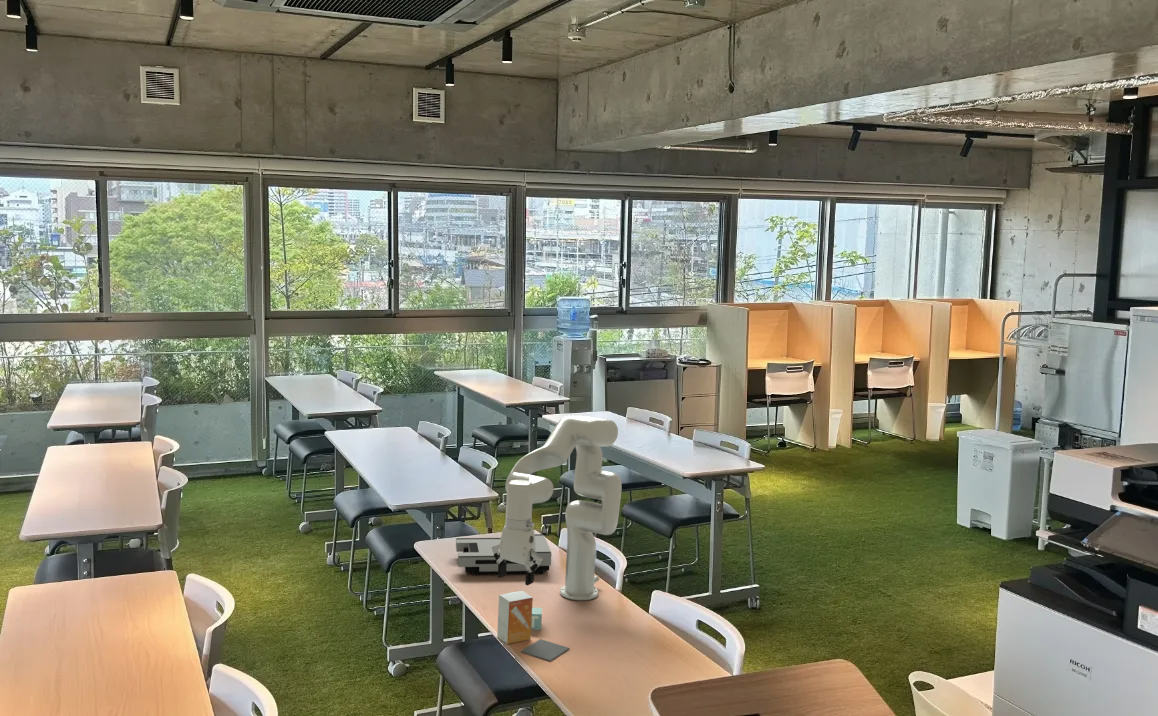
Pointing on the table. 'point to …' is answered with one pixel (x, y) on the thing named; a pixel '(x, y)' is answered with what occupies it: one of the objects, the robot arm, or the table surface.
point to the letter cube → (536, 619)
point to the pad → (545, 650)
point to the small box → (514, 617)
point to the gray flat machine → (484, 563)
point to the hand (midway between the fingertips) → (515, 580)
